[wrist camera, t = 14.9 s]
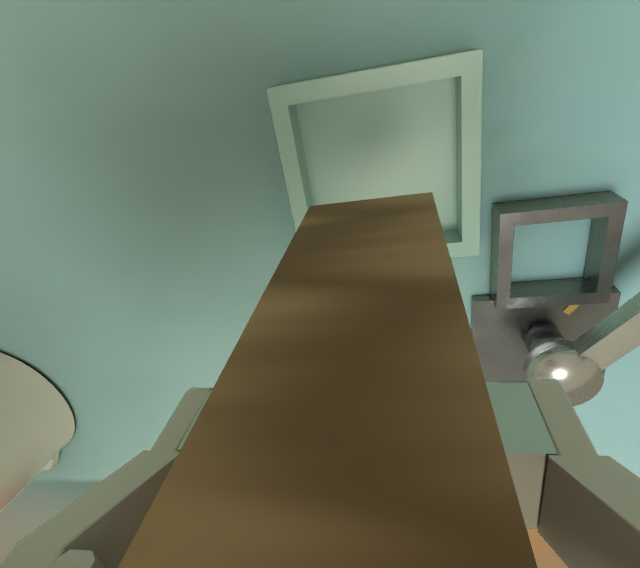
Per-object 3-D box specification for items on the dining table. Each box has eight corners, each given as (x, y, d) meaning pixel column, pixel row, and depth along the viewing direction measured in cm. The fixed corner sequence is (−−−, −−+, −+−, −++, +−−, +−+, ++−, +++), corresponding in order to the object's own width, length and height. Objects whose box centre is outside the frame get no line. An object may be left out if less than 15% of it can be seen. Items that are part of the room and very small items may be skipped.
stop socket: (489, 294, 29) (496, 309, 27) (492, 203, 26) (500, 214, 24) (594, 287, 27) (608, 302, 26) (611, 190, 24) (628, 201, 23)
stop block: (328, 305, 16) (206, 791, 5) (309, 205, 14) (71, 655, 4) (436, 299, 15) (535, 859, 5) (431, 191, 13) (582, 729, 3)
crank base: (471, 377, 33) (480, 412, 29) (471, 286, 29) (482, 316, 25) (597, 373, 31) (622, 410, 27) (616, 276, 27) (647, 306, 24)
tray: (310, 254, 29) (303, 270, 27) (277, 85, 24) (266, 88, 22) (472, 239, 27) (479, 255, 25) (473, 49, 22) (482, 49, 20)
